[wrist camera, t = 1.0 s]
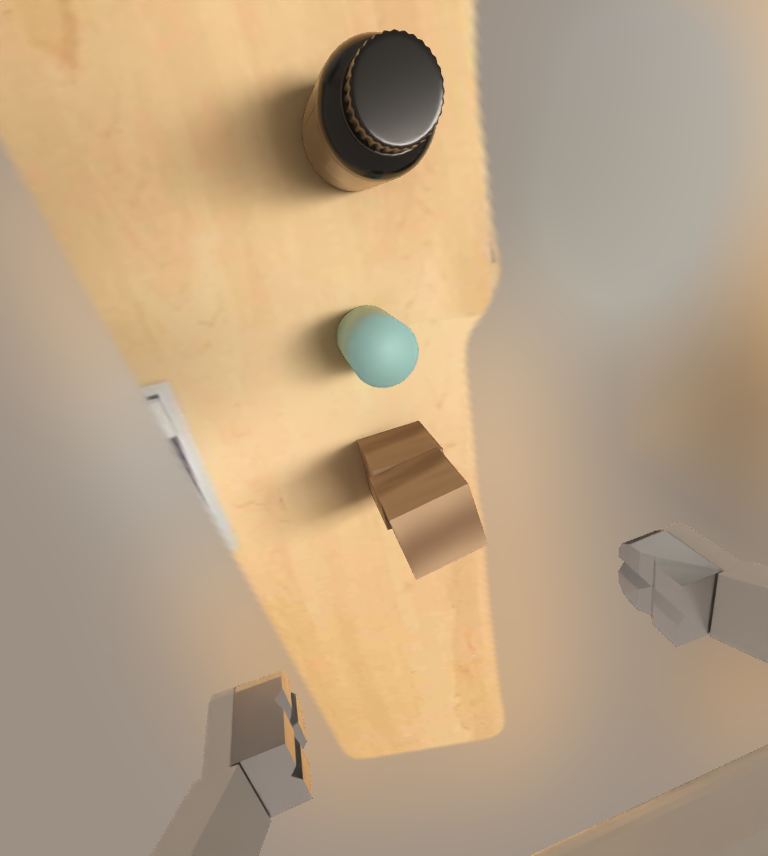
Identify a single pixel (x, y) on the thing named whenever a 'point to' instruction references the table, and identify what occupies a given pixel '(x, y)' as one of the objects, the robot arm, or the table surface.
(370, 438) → the tower base
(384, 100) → the supplement bottle
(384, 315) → the teal rounded cylinder
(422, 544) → the tower top
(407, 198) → the table surface
